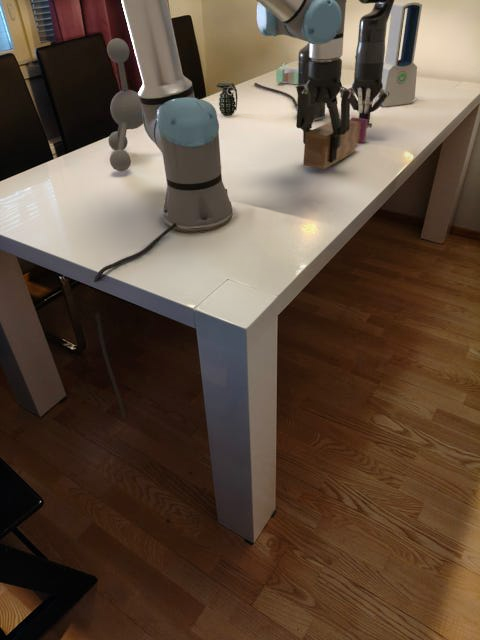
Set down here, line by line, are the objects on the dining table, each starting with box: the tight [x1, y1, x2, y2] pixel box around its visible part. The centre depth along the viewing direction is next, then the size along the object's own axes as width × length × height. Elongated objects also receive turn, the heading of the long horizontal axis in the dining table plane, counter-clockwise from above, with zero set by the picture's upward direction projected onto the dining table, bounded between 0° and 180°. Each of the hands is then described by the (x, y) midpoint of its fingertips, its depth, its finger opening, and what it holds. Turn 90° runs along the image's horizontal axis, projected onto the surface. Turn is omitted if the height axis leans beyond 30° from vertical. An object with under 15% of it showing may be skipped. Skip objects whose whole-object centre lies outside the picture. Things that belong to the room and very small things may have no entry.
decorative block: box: [275, 59, 299, 85], centre depth 205 cm, size 26×6×20 cm
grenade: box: [215, 82, 238, 117], centre depth 166 cm, size 7×6×10 cm
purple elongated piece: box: [350, 117, 373, 144], centre depth 136 cm, size 24×5×6 cm, turn 146°
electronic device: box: [374, 0, 423, 108], centre depth 163 cm, size 12×8×30 cm, turn 105°
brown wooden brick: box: [302, 118, 358, 170], centre depth 128 cm, size 19×6×8 cm, turn 146°
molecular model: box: [106, 37, 144, 172], centre depth 131 cm, size 24×22×30 cm
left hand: (320, 158), depth 125 cm, fingers closed on brown wooden brick, 6 cm apart
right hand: (363, 126), depth 142 cm, fingers closed
